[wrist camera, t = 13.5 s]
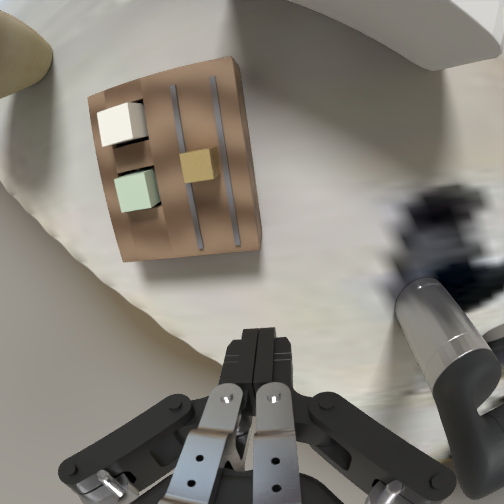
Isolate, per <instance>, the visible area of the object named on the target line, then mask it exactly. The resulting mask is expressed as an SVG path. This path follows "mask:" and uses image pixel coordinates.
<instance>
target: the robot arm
mask: <svg viewBox="0 0 504 504" xmlns="http://www.w3.org/2000/svg"><path fill="white" fill-rule="evenodd" d="M395 314H396V316H397V319H398V321H399V323H400V325H401V326H400V328H401V330H402V332H403V334H404V336H405V338H406V340H407V342H408V344H409V347H410V349H411V351H412V353H413V355H414V357H415V360H416V362H417V364H418V365H420V367H421V369H422V372H423V374H424V376H425V378H426V381H427V383H428V385H429V388H430V390H431V392H432V395H433V398H434V400H435V402H436V405H437V408H438V412H439V415H440V419H441V422H442V425H443V428H444V430H445V433H446V436H447V440H448V443H449V447H450V451H451V455H452V459H453V463H454V467H455V471H456V475H457V479H458V481H459V484H460V487H461V489H462V491H463V493H464V494H465V495H466V496H467V497H468V498H470V499H473V500H475V499H480V498H483V497H485V496H487V495H489V494H491V493H493V492H495V491H497V490H499V489H500V488H502V487H504V404H503V405H501V406H499V407H497V408H495V409H493V410H491V411H489V412H488V413H486V414H484V415H482V416H480V415H479V414H478V412H477V408H478V407H479V406H480V405H481V404H482V403H483V402H484V401H485V400H486V399H487V398H488V397H489V396H490V395H491V394H492V392H493V391H494V390H495V388H496V386H497V385H498V383H499V380H500V377H501V365H500V363H499V361H498V359H497V358H496V356H495V355H494V353H493V352H492V350H491V349H490V347H489V346H488V344H487V343H486V342H485V340H484V339H483V337H482V336H481V335H480V333H479V332H478V331H477V329H476V328H475V326H474V325H473V324H472V322H471V321H470V320H469V318H468V317H467V316H466V314H465V313H464V312H463V311H462V309H461V308H460V307H459V305H458V304H457V303H456V302H455V300H454V299H453V298H452V296H451V295H450V294H449V293H448V292H447V290H446V289H445V288H444V287H443V285H442V284H441V283H440V282H439V281H438V280H436V279H434V278H421V279H418V280H416V281H413V282H412V283H410V284H409V285H408V286H407V287H406V288H405V289H404V290H403V291H402V292H401V293H400V295H399V297H398V299H397V302H396V305H395ZM252 416H256V434H254V459H253V460H254V462H253V470H249V471H245V468H244V466H245V460H246V455H247V450H248V446H249V441H250V437H251V432H252V427H251V424H252ZM296 441H298V442H303V443H308V444H310V446H311V447H312V449H314V450H315V451H316V452H317V453H318V454H319V455H320V456H322V457H323V458H324V459H325V460H326V461H327V462H328V463H330V464H331V465H332V466H333V467H334V468H335V469H337V470H338V471H339V472H340V473H342V474H343V475H344V476H345V477H346V478H347V479H349V480H350V481H351V482H352V483H354V484H355V485H356V486H357V487H359V488H360V489H361V490H363V491H364V492H365V493H366V494H368V497H367V498H366V501H365V504H441V503H442V502H443V501H444V500H445V499H446V498H447V497H448V496H450V495H451V494H452V492H453V491H454V489H455V487H456V476H455V474H454V472H453V471H452V470H451V469H449V468H448V467H446V466H444V465H443V464H441V463H439V462H438V461H436V460H435V459H433V458H431V457H430V456H428V455H427V454H425V453H423V452H422V451H420V450H419V449H417V448H416V447H414V446H413V445H411V444H409V443H408V442H406V441H405V440H403V439H402V438H400V437H399V436H397V435H396V434H394V433H393V432H391V431H390V430H388V429H387V428H385V427H384V426H382V425H381V424H380V423H378V422H377V421H375V420H374V419H372V418H371V417H369V416H368V415H367V414H365V413H364V412H362V411H361V410H359V409H358V408H357V407H355V406H354V405H352V404H351V403H350V402H348V401H347V400H346V399H344V398H343V397H341V396H340V395H338V394H336V393H334V392H322V393H319V394H317V395H315V396H314V397H307V396H303V395H300V394H299V393H297V392H296V391H295V390H294V389H293V366H292V353H291V343H290V342H289V340H288V339H287V337H279V338H276V330H275V327H271V328H260V329H259V328H255V329H243V333H242V339H241V340H233V341H232V342H231V343H230V344H229V346H228V347H227V350H226V356H225V359H224V363H223V368H222V372H221V376H220V380H219V385H218V386H217V387H215V388H214V389H213V390H212V391H211V393H210V395H209V396H207V397H205V398H201V399H196V400H192V401H191V400H190V399H189V398H188V397H187V396H185V395H183V394H174V395H170V396H168V397H166V398H165V399H163V400H162V401H160V402H159V403H157V404H156V405H154V406H153V407H151V408H150V409H148V410H147V411H145V412H144V413H142V414H140V415H139V416H137V417H136V418H134V419H133V420H131V421H129V422H128V423H126V424H125V425H123V426H122V427H120V428H118V429H117V430H115V431H114V432H112V433H110V434H109V435H107V436H105V437H104V438H102V439H100V440H99V441H97V442H95V443H94V444H92V445H90V446H88V447H87V448H85V449H83V450H82V451H80V452H78V453H76V454H75V455H73V456H71V457H69V458H68V459H66V460H64V461H63V462H62V463H61V464H60V466H59V469H58V475H59V478H60V480H61V481H62V482H64V483H65V484H66V485H67V486H68V487H70V488H71V489H72V490H73V491H74V492H75V493H76V494H77V495H78V496H79V497H80V499H81V501H82V502H83V504H344V503H343V502H341V500H339V499H338V498H337V497H336V496H335V495H334V494H333V493H332V492H331V491H330V490H329V489H328V488H327V487H326V486H325V485H324V484H322V483H321V482H319V481H318V480H317V479H315V478H313V477H311V476H308V475H306V474H302V473H299V467H298V456H297V445H296ZM174 468H175V471H174V473H173V474H172V475H170V476H168V477H166V478H165V479H163V480H162V481H161V482H159V483H158V484H157V485H155V486H154V487H152V488H151V489H150V490H148V491H147V492H145V493H144V494H143V495H141V496H139V492H140V491H142V490H143V489H145V488H146V487H148V486H149V485H151V484H152V483H154V482H155V481H157V480H158V479H160V478H161V477H163V476H164V475H166V474H167V473H169V472H170V471H171V470H173V469H174Z"/></svg>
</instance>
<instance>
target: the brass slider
mask: <svg viewBox="0 0 504 504" xmlns="http://www.w3.org/2000/svg"><path fill="white" fill-rule="evenodd" d="M179 155H180V161H181V166H182V172H183V177H184V183H191V182H197V181H204V180H210V179H214V178H216V177H217V176H218V175H219V174H220V167H219V161H218V154H217V148H216V146H215V147H209V148H203V149H197V150H191V151H187V152H184V153H181V154H179Z"/></svg>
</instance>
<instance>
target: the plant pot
mask: <svg viewBox="0 0 504 504" xmlns="http://www.w3.org/2000/svg"><path fill="white" fill-rule="evenodd" d="M51 62H52V49H51V46H50V45H49V44H48V43H47V42H46V41H45V40H44V39H43V38H42V37H41V36H40V35H39V34H38V33H37V32H36V31H34V30H33V29H32V28H31V27H29V26H28V25H26V24H25V23H23V22H22V21H20V20H19V19H17V18H15V17H14V16H12V15H10V14H8V13H5V12H3V11H1V10H0V99H1V98H3V97H6V96H8V95H11V94H13V93H16V92H18V91H20V90H22V89H25V88H27V87H29V86H31V85H33V84H35V83H37V82H39V81H40V80H41V79H42V78H43V77H44V76H45V75H46V73H47V72H48V70H49V68H50V65H51Z"/></svg>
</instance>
